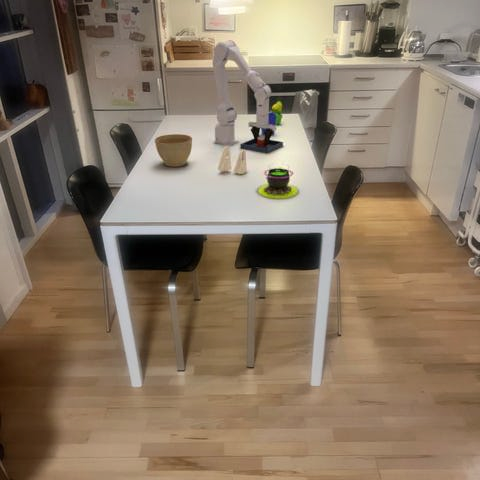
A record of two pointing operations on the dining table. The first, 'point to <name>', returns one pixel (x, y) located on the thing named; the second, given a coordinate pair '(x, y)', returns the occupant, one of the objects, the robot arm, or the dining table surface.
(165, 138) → the planter bowl
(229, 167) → the shaker set
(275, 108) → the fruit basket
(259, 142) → the tin can
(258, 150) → the tray
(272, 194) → the toy cauldron
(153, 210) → the dining table surface
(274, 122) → the mug
